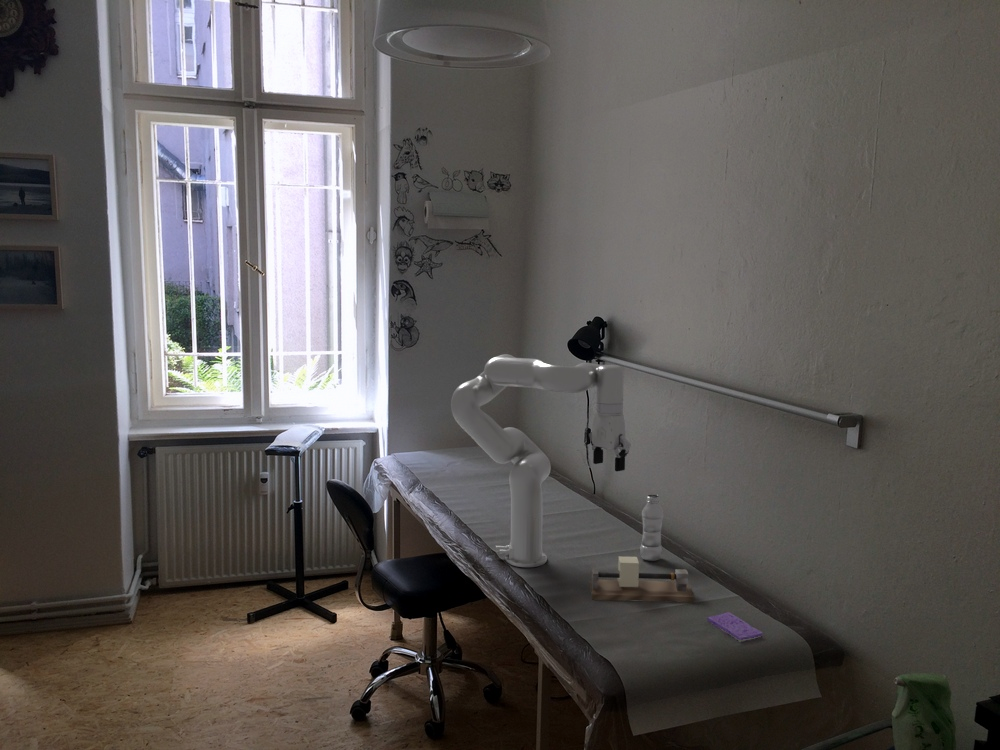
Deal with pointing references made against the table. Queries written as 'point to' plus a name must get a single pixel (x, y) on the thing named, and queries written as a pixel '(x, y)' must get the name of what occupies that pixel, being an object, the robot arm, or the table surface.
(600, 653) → the table surface
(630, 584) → the cream foam block
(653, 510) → the plastic bottle
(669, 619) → the table surface
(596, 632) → the table surface
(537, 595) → the table surface
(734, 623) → the sponges
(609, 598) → the wooden linear slide
